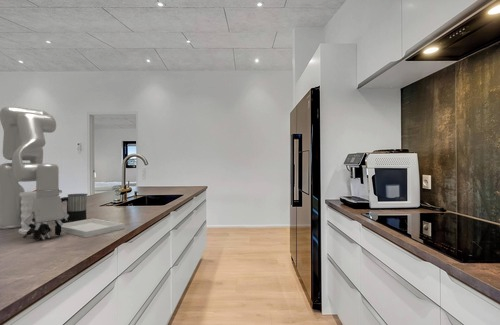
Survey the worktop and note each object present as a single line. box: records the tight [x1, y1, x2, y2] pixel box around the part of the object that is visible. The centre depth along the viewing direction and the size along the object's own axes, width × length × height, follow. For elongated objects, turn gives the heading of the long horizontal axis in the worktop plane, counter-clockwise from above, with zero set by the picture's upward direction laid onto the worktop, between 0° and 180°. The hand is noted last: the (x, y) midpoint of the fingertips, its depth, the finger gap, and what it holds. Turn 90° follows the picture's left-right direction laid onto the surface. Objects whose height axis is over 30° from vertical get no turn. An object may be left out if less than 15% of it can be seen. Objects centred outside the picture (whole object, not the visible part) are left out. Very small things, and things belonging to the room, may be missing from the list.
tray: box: [61, 218, 126, 239], centre depth 131 cm, size 26×18×2 cm
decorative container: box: [18, 190, 51, 235], centre depth 129 cm, size 12×12×18 cm
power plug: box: [22, 223, 52, 241], centre depth 116 cm, size 6×8×12 cm
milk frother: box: [60, 193, 88, 224], centre depth 146 cm, size 14×16×15 cm
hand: (47, 236), depth 115 cm, fingers open, 6 cm apart
